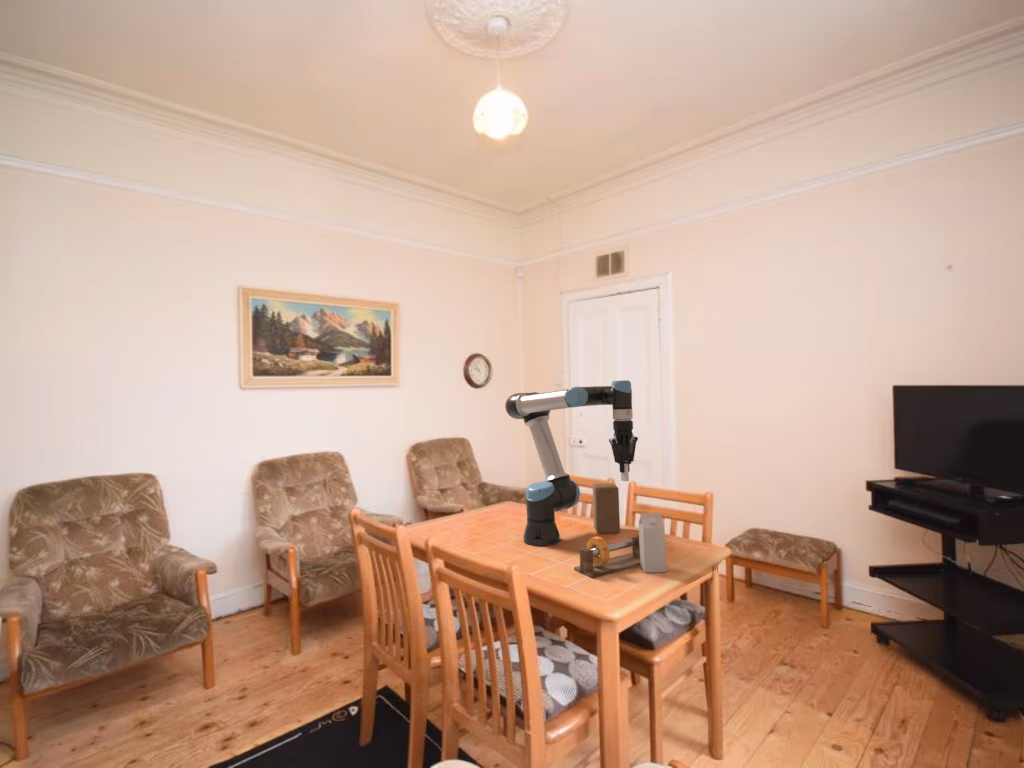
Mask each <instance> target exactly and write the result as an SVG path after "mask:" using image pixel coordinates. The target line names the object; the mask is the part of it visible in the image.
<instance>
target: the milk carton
mask: <svg viewBox="0 0 1024 768" xmlns="http://www.w3.org/2000/svg"><path fill="white" fill-rule="evenodd" d="M639 516H640V517H639V520H638V536H639V544H640V566H639V567H641V569H642V570H643V572H644V573H646V574H647V573H666V572H667V565H666V564H667V563H666V562H667V561H666V556H667V555H666V539H665V538H666V536H665V535H666V533H665V532H666V531H665V525H664V521H663V517H662V512H658V513H657V512H655V513H640V515H639Z"/></svg>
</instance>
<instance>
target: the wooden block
mask: <svg viewBox="0 0 1024 768" xmlns="http://www.w3.org/2000/svg"><path fill="white" fill-rule="evenodd" d="M619 491H620V490H619V487H618V486H617V485H616V484H615V483H613V482H612V483H611V482H609V483H608V482H607V483H594V484H592V506H593V509H592V510H593V527H594V529H595V531H596V532H597V534H601V535H602V534H603V535H604V534H619V533H620V532H621V527H620V526H621V521H620V496H619Z"/></svg>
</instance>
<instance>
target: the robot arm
mask: <svg viewBox="0 0 1024 768" xmlns="http://www.w3.org/2000/svg"><path fill="white" fill-rule="evenodd" d="M590 406H591V407H592V406H612V419H613V421H612V428H613V430H614V433H613V437H612V438H609V439H608V441H609V443H610V446H611V451H612V456H613V459H614V463H617V464H619V473H620V480H621V481H622V482H630V479H629V478H630V476H629V475H630V474H629V473H630V472H631V471H630V465H631V464H632V463H633V462H634V459H635V454H636V453H635V452H636V447H637V446H636V445H637V442H638V440H639V437H637V436H635V435H634V434H633V429H634V421H633V420H632V419H633V390H632V383H631V381H630V380H629V379H628V380H613V381H612V382H611V385H609V386H608V385H606V386H605V385H599V386H572V387H570V388H564V389H560V390H559V389H558V390H553V391H547V392H546V391H545V392H536V391H534V392H518V393H513V394H511V395H509V397H508V398H507V399H506V401H505V411H506V413H507V415H508V416H510V417H511V418H512V419H515V420H523V422H524V425H525V426H526V427H528V428H529V430H530V433H531V435H532V439H533V442H534V445H535V449H536V452H537V454H538V455H537V456H538V457H539V461H540V463H541V466H542V470H543V474H544V477H545V480H544V481H540V482H534V483H531V484H530V485H528V486H527V487H526V489H525V501H526V502H525V503H526V525H525V528H524V533H523V542H524V543H525V544H527V545H531V546H543V547H544V546H551V545H555V544H557V543H560V541H561V537H560V535H561V534H560V532H559V529H558V527H557V523H556V517H555V516H556V514H555V513H556V512H559V511H563V510H568V509H571V508H572V507H574V506H576V505H577V504H578V502H579V500H580V496H581V490H580V487H579V485H578V483H577V482H575V481H574V480H573V479H571V478H570V477H571V476H570V474H568V473H566V472H565V470H564V467H563V465H562V461H561V458H560V455H559V452H558V449H557V446H556V442H555V440H554V437H553V434H552V431H551V428H550V426H549V425H550V424H549V420H550V413H551V411H555V410H564V409H571V408H578V407H590Z"/></svg>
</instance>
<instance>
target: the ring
mask: <svg viewBox="0 0 1024 768" xmlns="http://www.w3.org/2000/svg"><path fill="white" fill-rule="evenodd" d="M586 543H587V544H586V548H589V549H594V548H596V547H598V549H599V550H600V555H597V556H596V555H595V556H593V564H594V565H596V566H603V565H606V563H607V562H608V561H609V558H611V555H610V552H609V549H607V548H608V545H609V544H608V543H607V541H606V539H604V537H601V536H598V535H596V536H593V537H590V538H589V539H588V541H587V542H586Z"/></svg>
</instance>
